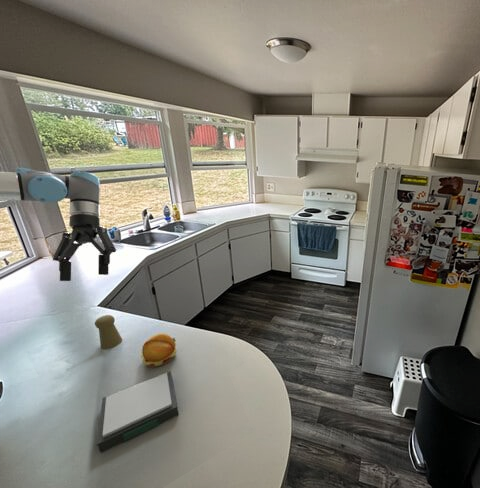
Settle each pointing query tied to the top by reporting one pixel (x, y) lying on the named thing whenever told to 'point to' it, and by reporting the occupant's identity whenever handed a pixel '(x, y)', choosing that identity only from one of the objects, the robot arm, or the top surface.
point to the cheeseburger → (158, 350)
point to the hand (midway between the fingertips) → (84, 277)
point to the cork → (108, 332)
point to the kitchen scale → (136, 410)
